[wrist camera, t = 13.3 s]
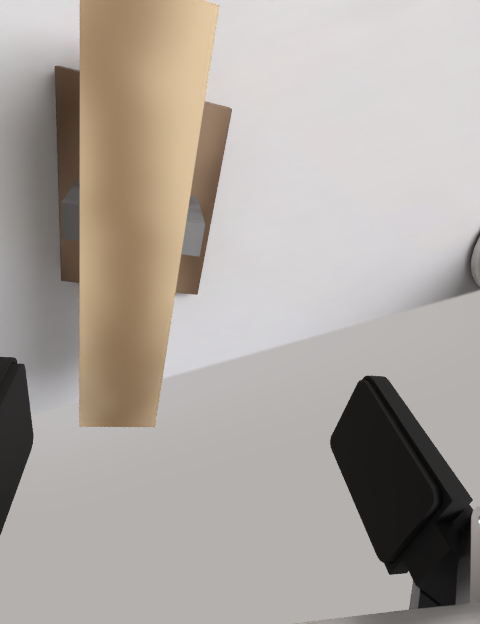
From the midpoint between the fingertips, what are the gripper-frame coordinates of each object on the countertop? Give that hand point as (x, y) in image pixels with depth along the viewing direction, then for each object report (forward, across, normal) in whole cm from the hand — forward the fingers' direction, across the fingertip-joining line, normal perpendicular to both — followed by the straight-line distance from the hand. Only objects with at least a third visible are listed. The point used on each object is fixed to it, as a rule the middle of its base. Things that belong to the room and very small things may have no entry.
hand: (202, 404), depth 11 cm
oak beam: (+17, +3, +2) cm, 17 cm away
